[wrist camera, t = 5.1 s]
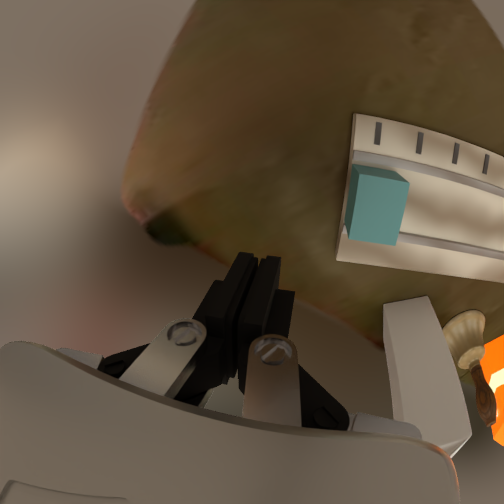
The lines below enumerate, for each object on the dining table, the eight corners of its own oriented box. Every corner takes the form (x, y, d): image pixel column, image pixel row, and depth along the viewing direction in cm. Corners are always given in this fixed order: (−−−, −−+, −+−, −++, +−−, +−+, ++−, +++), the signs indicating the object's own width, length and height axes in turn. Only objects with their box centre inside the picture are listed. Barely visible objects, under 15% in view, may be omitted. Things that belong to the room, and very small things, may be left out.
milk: (382, 337, 32) (393, 499, 13) (382, 302, 30) (404, 488, 11) (424, 329, 30) (454, 484, 11) (428, 294, 28) (477, 467, 9)
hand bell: (431, 354, 32) (451, 447, 18) (445, 313, 28) (481, 415, 15) (474, 346, 30) (501, 430, 16) (491, 305, 26) (533, 394, 12)
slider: (352, 163, 21) (359, 173, 18) (395, 171, 20) (409, 183, 17) (344, 219, 24) (348, 239, 20) (385, 226, 23) (395, 246, 20)
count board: (353, 113, 21) (357, 113, 19) (532, 171, 17) (544, 178, 14) (335, 250, 28) (336, 263, 26) (501, 274, 24) (509, 285, 21)
